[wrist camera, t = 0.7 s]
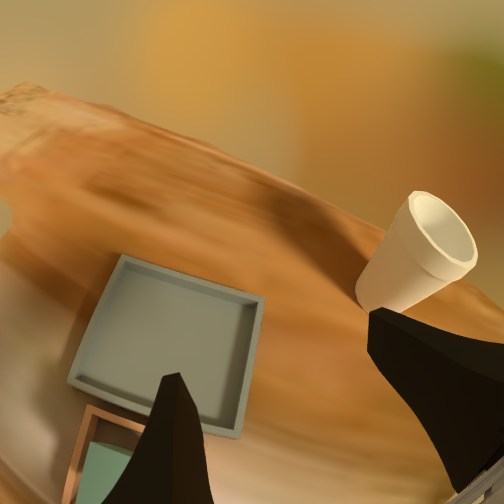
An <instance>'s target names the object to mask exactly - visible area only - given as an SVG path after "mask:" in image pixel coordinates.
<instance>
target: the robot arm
mask: <svg viewBox="0 0 504 504" xmlns="http://www.w3.org/2000/svg"><path fill="white" fill-rule="evenodd" d="M367 352H368V354H369V355H370V357H371V358H372V360H373V362H374V363H375V365H376V366H377V368H378V369H379V371H380V372H381V373H382V375H383V376H384V377H385V378H386V379H387V381H388V382H389V383H390V384H391V385H392V387H393V388H394V389H395V390H396V391H397V392H398V394H399V395H400V396H401V397H402V398H403V399H404V401H405V402H406V403H407V404H408V405H409V407H410V408H411V409H412V411H413V412H414V413H415V415H416V416H417V418H418V419H419V421H420V422H421V424H422V425H423V427H424V429H425V430H426V432H427V434H428V435H429V437H430V439H431V441H432V442H433V444H434V446H435V448H436V450H437V452H438V454H439V456H440V458H441V460H442V462H443V464H444V466H445V469H446V471H447V473H448V476H449V478H450V481H451V484H452V486H453V488H454V490H455V491H456V492H457V493H458V494H459V493H460V494H459V495H458V496H457V497H455V498H454V499H452V500H451V501H450V502H448V503H447V504H472V503H473V502H474V501H475V500H476V499H477V498H479V497H480V496H481V495H482V494H483V493H485V494H484V500H483V501H482V502H481V503H480V504H504V344H501V343H493V342H486V341H481V340H476V339H472V338H467V337H463V336H460V335H456V334H453V333H450V332H447V331H444V330H441V329H438V328H435V327H432V326H430V325H427V324H425V323H422V322H420V321H417V320H415V319H412V318H410V317H407V316H405V315H402V314H400V313H398V312H395V311H393V310H390V309H387V308H384V307H380V308H378V309H375V310H373V311H370V312H369V327H368V344H367ZM486 471H487V472H486ZM485 472H486V473H485ZM484 473H485V474H484ZM481 475H482V476H481ZM480 476H481V477H480ZM479 477H480V478H479ZM478 478H479V479H478ZM477 479H478V480H477ZM474 481H475V482H474ZM473 482H474V483H473ZM472 483H473V484H472ZM471 484H472V485H471ZM469 485H470V486H469ZM468 486H469V487H468ZM467 487H468V488H467ZM466 488H467V489H466ZM464 489H466V490H464ZM463 490H464V491H463ZM462 491H463V492H462ZM461 492H462V493H461ZM101 504H214V502H213V498H212V495H211V490H210V485H209V479H208V472H207V464H206V456H205V448H204V440H203V431H202V427H201V423H200V418H199V414H198V410H197V406H196V404H195V402H194V401H193V399H192V397H191V395H190V393H189V391H188V388H187V386H186V384H185V382H184V380H183V378H182V376H181V374H180V372H177V373H173V374H168V375H164V376H163V377H162V378H161V381H160V385H159V388H158V391H157V394H156V397H155V400H154V403H153V406H152V409H151V412H150V415H149V417H148V420H147V423H146V425H145V428H144V430H143V432H142V435H141V437H140V439H139V442H138V444H137V446H136V448H135V450H134V452H133V454H132V456H131V458H130V460H129V462H128V464H127V466H126V467H125V469H124V471H123V473H122V474H121V476H120V477H119V479H118V481H117V482H116V484H115V485H114V487H113V488H112V490H111V491H110V493H109V494H108V495H107V497H106V498H105V499H104V500H103V502H102V503H101Z"/></svg>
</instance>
